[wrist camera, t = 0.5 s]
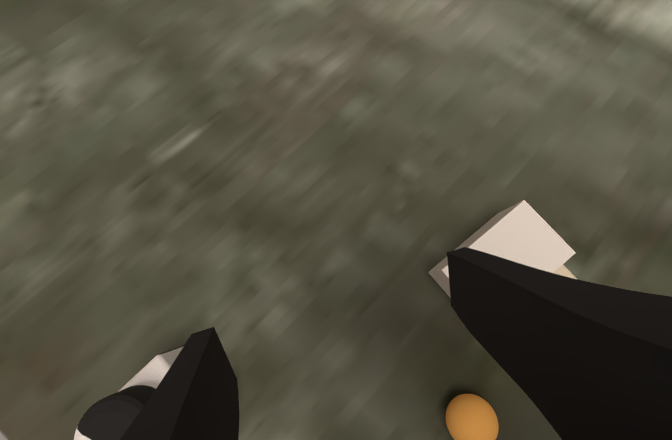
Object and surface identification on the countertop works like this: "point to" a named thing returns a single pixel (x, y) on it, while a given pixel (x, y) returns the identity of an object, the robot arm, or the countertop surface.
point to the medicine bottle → (124, 402)
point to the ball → (471, 418)
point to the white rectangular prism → (514, 242)
